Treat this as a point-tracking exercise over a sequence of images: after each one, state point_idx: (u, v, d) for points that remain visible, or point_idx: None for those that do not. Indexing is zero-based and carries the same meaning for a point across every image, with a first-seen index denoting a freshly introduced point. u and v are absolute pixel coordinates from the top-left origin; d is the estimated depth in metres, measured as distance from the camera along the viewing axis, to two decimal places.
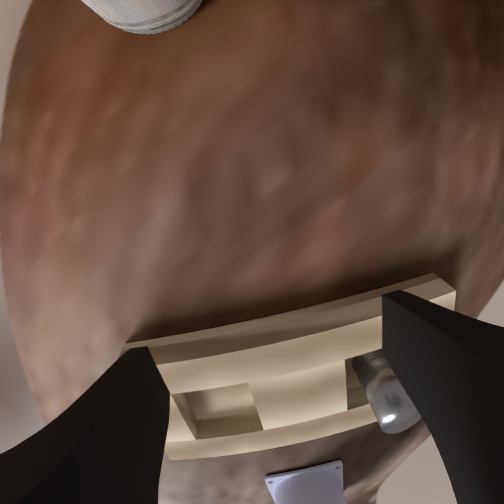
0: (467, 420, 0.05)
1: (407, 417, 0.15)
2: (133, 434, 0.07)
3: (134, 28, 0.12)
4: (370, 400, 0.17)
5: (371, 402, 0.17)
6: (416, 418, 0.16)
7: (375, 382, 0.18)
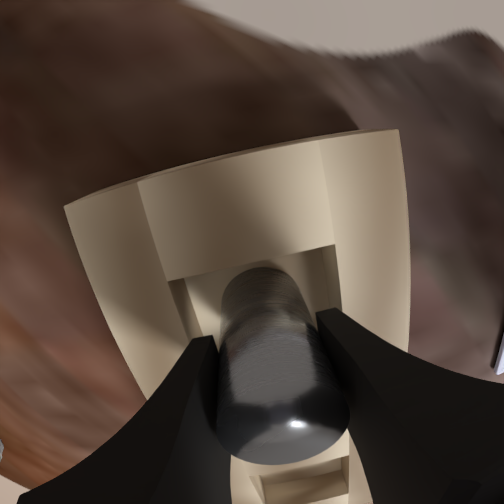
0: (378, 458, 0.05)
1: (290, 423, 0.06)
2: (211, 428, 0.07)
3: None
4: None
5: None
6: (311, 397, 0.06)
7: None
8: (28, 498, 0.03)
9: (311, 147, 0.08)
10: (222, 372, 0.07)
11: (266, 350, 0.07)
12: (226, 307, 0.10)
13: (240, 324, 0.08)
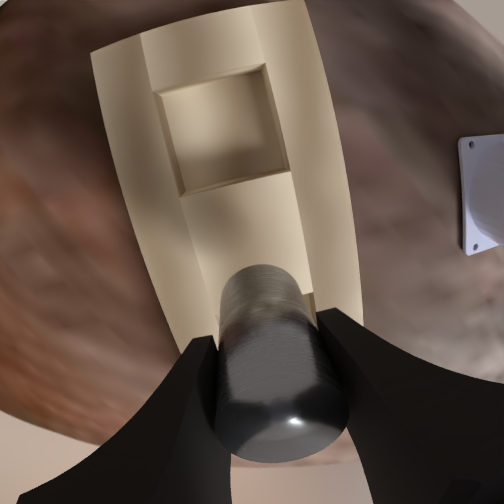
0: (379, 458, 0.05)
1: (290, 421, 0.06)
2: (211, 428, 0.07)
3: None
4: None
5: None
6: (310, 394, 0.06)
7: None
8: (28, 498, 0.03)
9: (245, 9, 0.11)
10: (221, 369, 0.07)
11: (265, 346, 0.07)
12: (225, 304, 0.10)
13: (239, 321, 0.08)
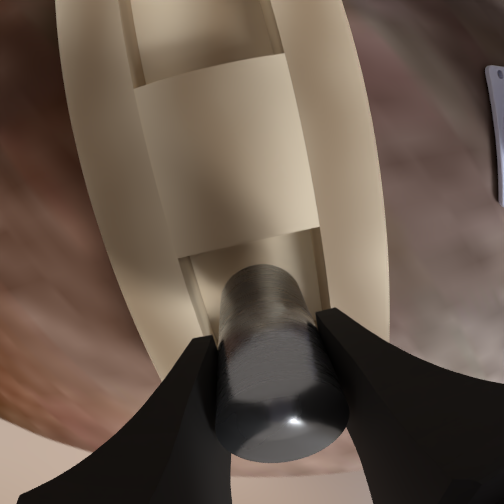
0: (378, 458, 0.05)
1: (290, 421, 0.06)
2: (211, 428, 0.07)
3: None
4: None
5: None
6: (310, 394, 0.06)
7: None
8: (28, 498, 0.03)
9: None
10: (221, 369, 0.07)
11: (265, 346, 0.07)
12: (225, 304, 0.10)
13: (239, 321, 0.08)
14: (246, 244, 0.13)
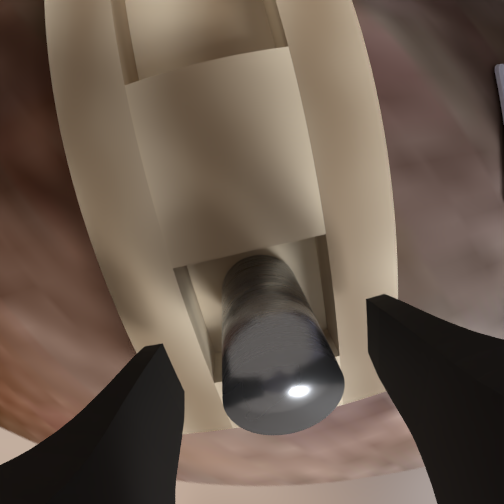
0: (447, 430, 0.05)
1: (290, 391, 0.07)
2: (151, 433, 0.07)
3: None
4: None
5: None
6: (309, 363, 0.07)
7: None
8: None
9: None
10: (226, 346, 0.08)
11: (266, 323, 0.08)
12: (227, 291, 0.11)
13: (242, 303, 0.09)
14: (246, 252, 0.12)
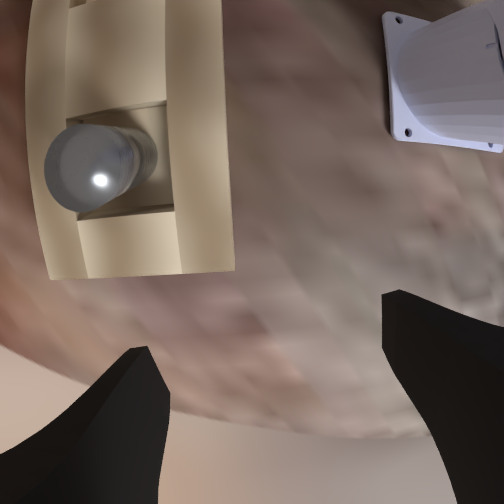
0: (467, 420, 0.05)
1: (83, 161, 0.09)
2: (133, 434, 0.07)
3: None
4: None
5: None
6: (95, 137, 0.09)
7: None
8: None
9: None
10: None
11: None
12: None
13: None
14: (124, 125, 0.14)
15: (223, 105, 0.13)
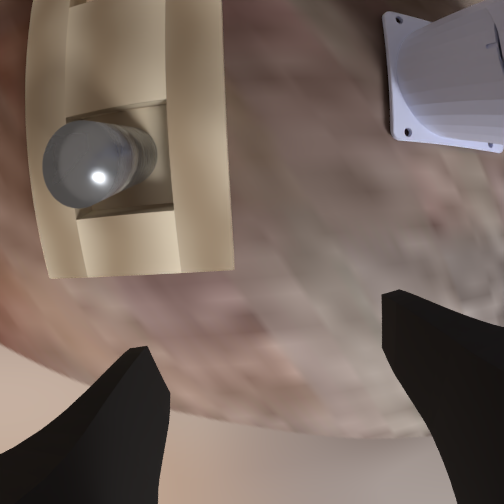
0: (467, 420, 0.05)
1: (81, 157, 0.09)
2: (133, 434, 0.07)
3: None
4: None
5: None
6: (94, 134, 0.09)
7: None
8: None
9: None
10: None
11: None
12: None
13: None
14: (124, 124, 0.14)
15: (223, 104, 0.13)
